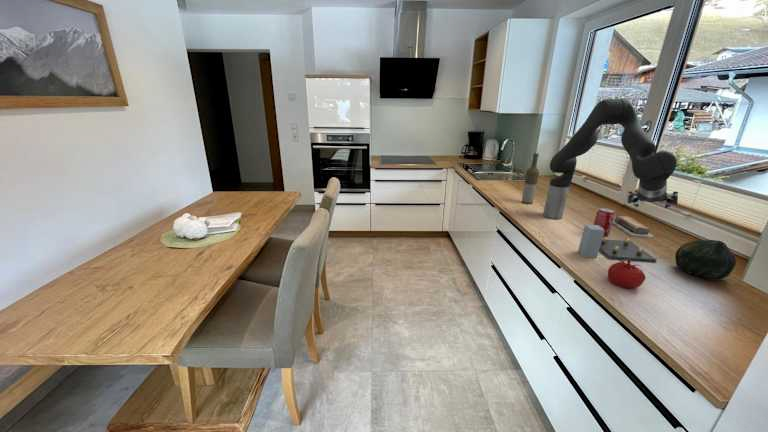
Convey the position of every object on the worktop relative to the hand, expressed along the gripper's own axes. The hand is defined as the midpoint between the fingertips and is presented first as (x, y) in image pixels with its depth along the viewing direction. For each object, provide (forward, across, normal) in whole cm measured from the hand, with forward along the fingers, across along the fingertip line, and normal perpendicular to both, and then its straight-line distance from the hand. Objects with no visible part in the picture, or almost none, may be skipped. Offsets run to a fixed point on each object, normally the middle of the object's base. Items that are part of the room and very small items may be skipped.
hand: (651, 205), depth 120 cm
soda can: (+22, +18, +6) cm, 29 cm away
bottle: (+38, +58, -15) cm, 71 cm away
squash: (+11, -14, +22) cm, 29 cm away
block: (-1, +19, +23) cm, 30 cm away
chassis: (+10, +9, +17) cm, 22 cm away
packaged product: (+36, +7, -1) cm, 37 cm away
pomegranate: (-13, +6, +35) cm, 38 cm away
